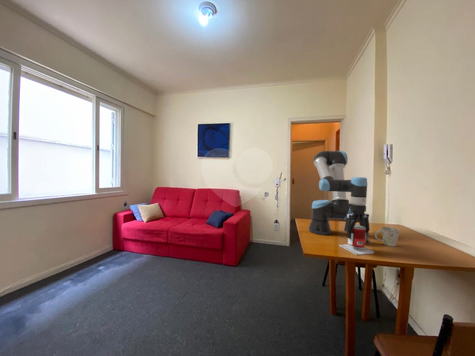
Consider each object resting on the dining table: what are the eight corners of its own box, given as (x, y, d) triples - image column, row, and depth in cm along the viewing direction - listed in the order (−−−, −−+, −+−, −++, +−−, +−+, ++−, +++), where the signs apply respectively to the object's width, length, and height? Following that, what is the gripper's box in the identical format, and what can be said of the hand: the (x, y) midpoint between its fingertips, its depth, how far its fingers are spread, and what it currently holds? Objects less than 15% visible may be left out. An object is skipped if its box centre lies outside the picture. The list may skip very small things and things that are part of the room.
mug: (402, 247, 107) (402, 231, 106) (378, 245, 109) (378, 229, 109) (392, 242, 115) (393, 227, 114) (370, 240, 117) (371, 225, 117)
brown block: (346, 241, 114) (346, 224, 114) (363, 240, 118) (364, 223, 117) (352, 244, 110) (353, 227, 109) (370, 243, 113) (371, 225, 113)
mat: (339, 245, 107) (339, 244, 107) (355, 244, 110) (355, 243, 110) (356, 255, 96) (356, 253, 96) (374, 253, 98) (374, 251, 98)
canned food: (367, 246, 101) (368, 227, 101) (360, 249, 97) (361, 229, 97) (352, 241, 108) (353, 223, 108) (345, 244, 104) (346, 225, 103)
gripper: (348, 205, 96) (346, 247, 97) (379, 205, 101) (377, 244, 101) (337, 203, 103) (336, 242, 104) (366, 202, 108) (364, 239, 109)
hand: (356, 243), depth 103 cm, fingers closed on canned food, 8 cm apart
